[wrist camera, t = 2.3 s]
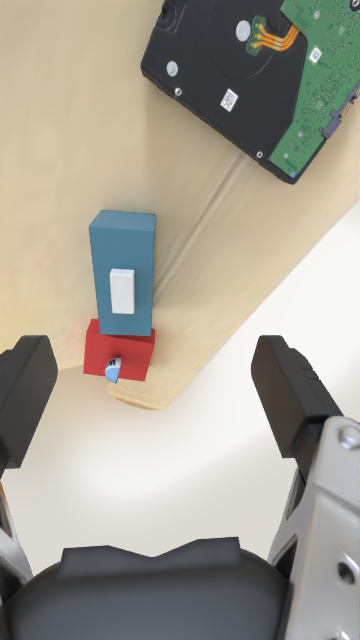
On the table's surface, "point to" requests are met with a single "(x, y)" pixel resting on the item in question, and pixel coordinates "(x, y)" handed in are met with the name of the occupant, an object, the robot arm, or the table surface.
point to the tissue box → (123, 271)
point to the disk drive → (261, 72)
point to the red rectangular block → (117, 354)
